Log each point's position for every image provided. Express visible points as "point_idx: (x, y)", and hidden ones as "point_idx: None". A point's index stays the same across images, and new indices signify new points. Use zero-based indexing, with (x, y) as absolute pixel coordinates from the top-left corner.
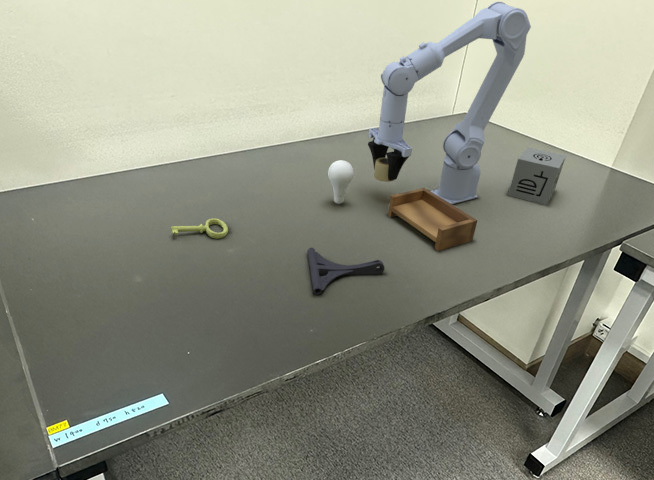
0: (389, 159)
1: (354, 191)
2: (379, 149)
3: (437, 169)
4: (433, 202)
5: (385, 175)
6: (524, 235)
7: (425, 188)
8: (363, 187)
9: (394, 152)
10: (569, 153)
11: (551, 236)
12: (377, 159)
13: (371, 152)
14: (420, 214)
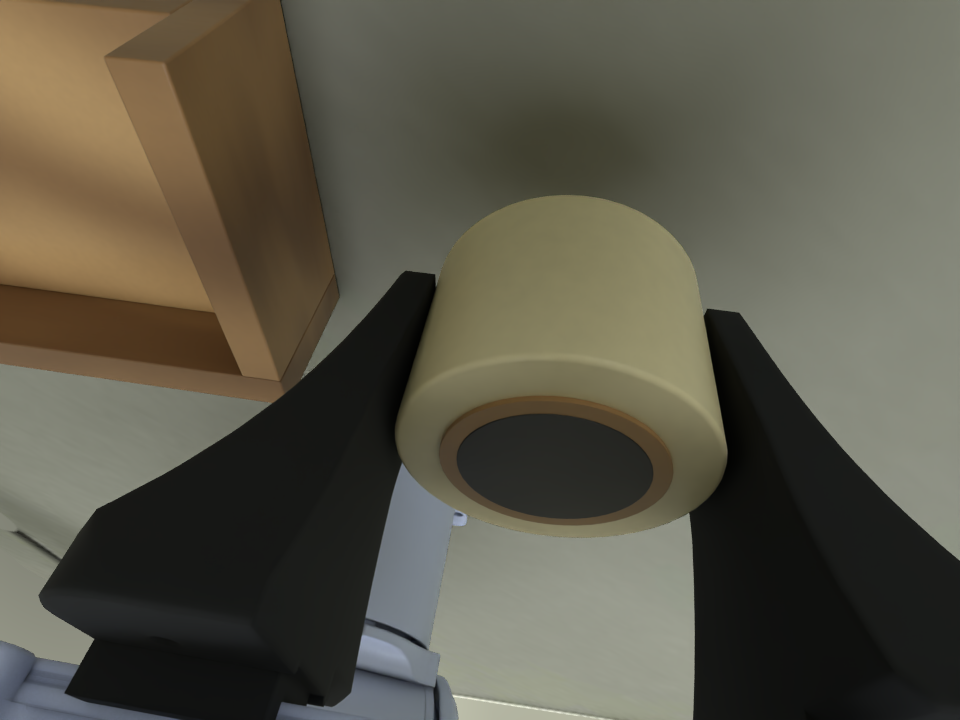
0: (251, 492)
1: (902, 35)
2: (763, 620)
3: (643, 564)
4: (141, 327)
5: (449, 283)
6: (6, 415)
7: (268, 401)
8: (861, 182)
9: (241, 663)
10: (484, 698)
11: (11, 457)
12: (707, 442)
13: (898, 518)
14: (3, 147)
